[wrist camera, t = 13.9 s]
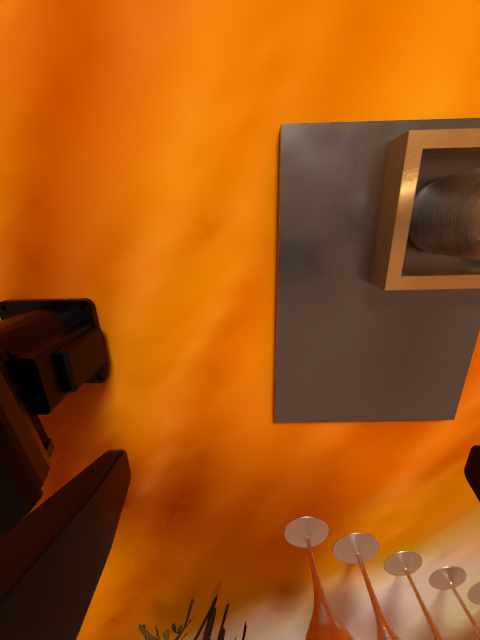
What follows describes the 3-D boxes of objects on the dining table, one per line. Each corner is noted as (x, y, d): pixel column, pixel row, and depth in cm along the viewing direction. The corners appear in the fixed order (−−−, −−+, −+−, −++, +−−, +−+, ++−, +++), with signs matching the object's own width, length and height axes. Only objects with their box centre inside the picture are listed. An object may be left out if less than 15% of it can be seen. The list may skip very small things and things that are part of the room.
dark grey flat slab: (273, 415, 22) (277, 441, 20) (279, 128, 16) (287, 109, 13) (446, 413, 22) (474, 438, 20) (525, 121, 16) (583, 100, 13)
